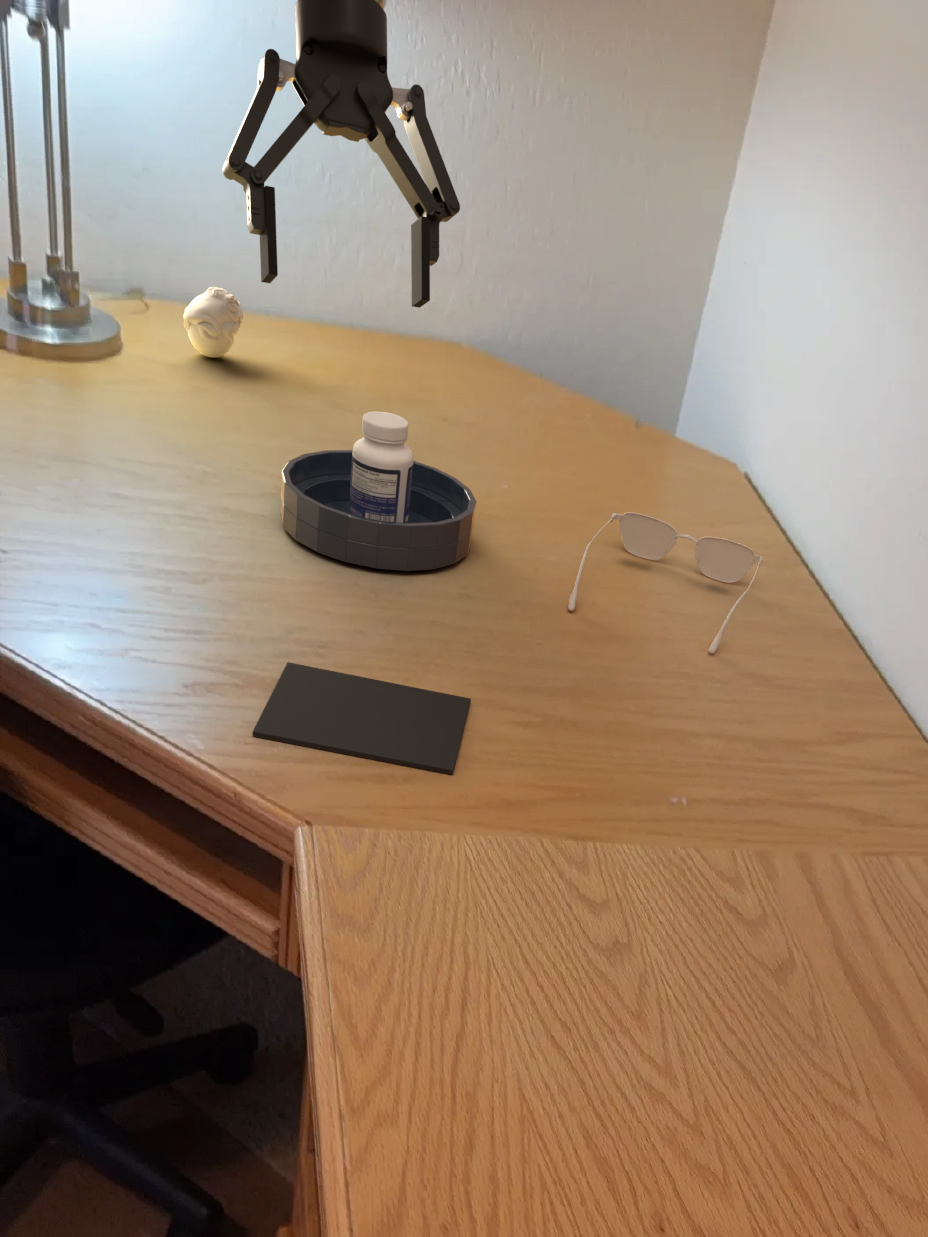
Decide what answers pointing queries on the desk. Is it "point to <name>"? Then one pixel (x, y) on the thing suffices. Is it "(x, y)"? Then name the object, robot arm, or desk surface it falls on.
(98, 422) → the desk surface
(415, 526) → the bowl
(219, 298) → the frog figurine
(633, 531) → the eyeglasses
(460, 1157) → the desk surface
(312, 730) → the mat
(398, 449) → the pill bottle
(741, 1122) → the desk surface
